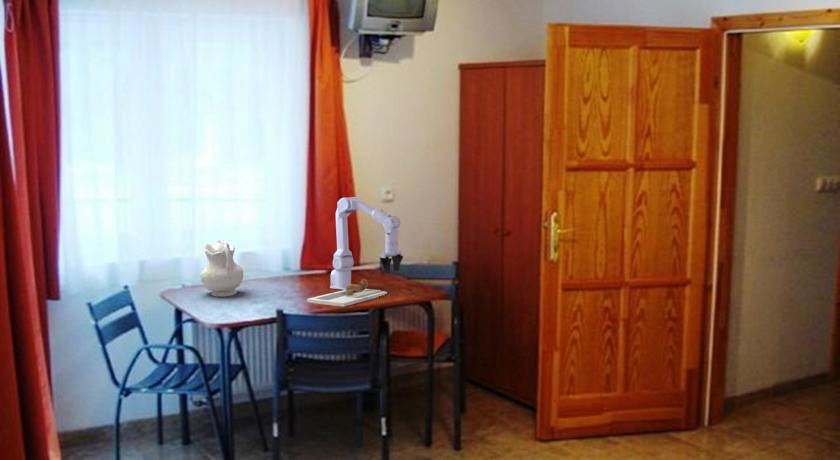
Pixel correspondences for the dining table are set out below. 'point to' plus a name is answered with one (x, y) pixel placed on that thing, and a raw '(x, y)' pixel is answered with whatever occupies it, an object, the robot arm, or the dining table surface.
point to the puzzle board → (342, 298)
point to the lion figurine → (358, 286)
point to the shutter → (360, 293)
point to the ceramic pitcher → (221, 270)
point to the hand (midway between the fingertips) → (391, 271)
